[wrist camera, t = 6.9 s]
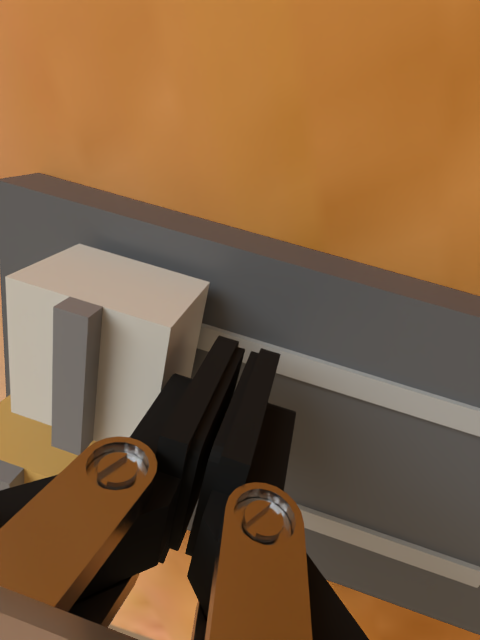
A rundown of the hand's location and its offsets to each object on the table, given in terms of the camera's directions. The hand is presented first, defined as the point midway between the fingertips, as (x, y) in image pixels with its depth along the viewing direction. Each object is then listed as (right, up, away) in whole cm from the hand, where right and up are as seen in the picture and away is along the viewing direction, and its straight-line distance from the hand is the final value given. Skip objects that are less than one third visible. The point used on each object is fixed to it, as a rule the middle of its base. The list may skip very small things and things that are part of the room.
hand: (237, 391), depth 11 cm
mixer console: (+1, -1, +5) cm, 5 cm away
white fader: (-3, +2, +2) cm, 4 cm away
